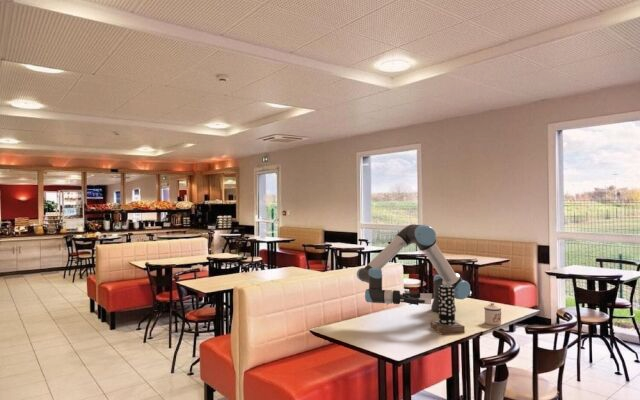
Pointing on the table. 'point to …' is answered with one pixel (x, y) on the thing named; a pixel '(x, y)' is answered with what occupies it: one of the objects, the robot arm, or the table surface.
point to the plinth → (447, 328)
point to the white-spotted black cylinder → (446, 304)
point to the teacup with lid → (492, 314)
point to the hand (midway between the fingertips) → (431, 298)
